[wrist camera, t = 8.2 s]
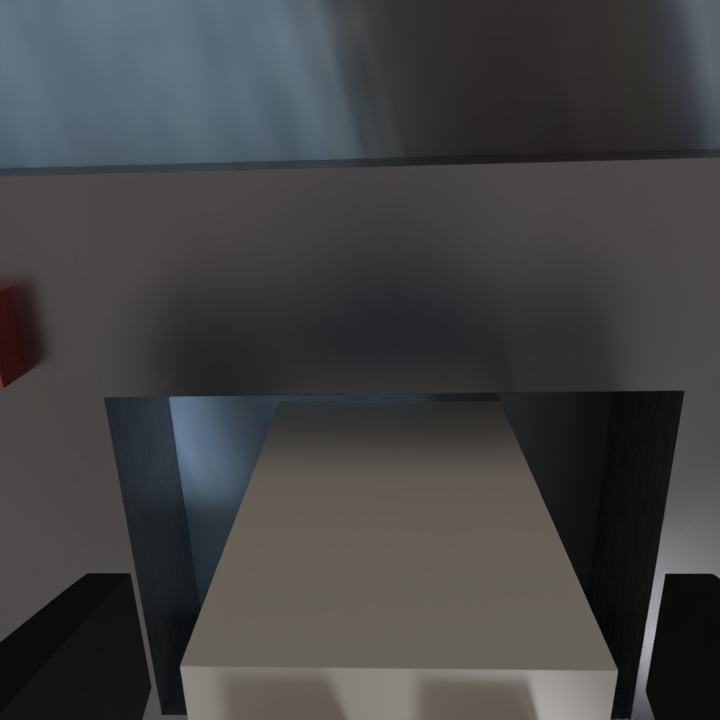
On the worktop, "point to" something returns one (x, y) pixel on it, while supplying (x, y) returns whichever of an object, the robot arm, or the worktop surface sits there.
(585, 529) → the worktop surface
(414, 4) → the worktop surface
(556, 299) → the socket plate
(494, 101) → the worktop surface
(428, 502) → the plug
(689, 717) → the robot arm
